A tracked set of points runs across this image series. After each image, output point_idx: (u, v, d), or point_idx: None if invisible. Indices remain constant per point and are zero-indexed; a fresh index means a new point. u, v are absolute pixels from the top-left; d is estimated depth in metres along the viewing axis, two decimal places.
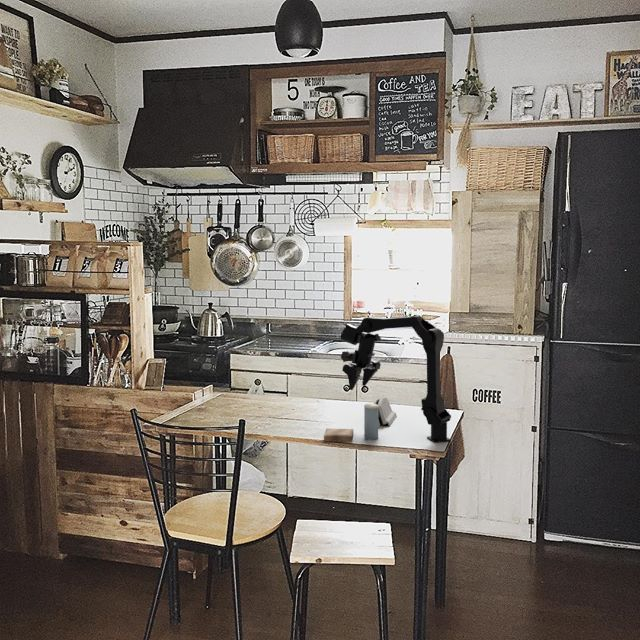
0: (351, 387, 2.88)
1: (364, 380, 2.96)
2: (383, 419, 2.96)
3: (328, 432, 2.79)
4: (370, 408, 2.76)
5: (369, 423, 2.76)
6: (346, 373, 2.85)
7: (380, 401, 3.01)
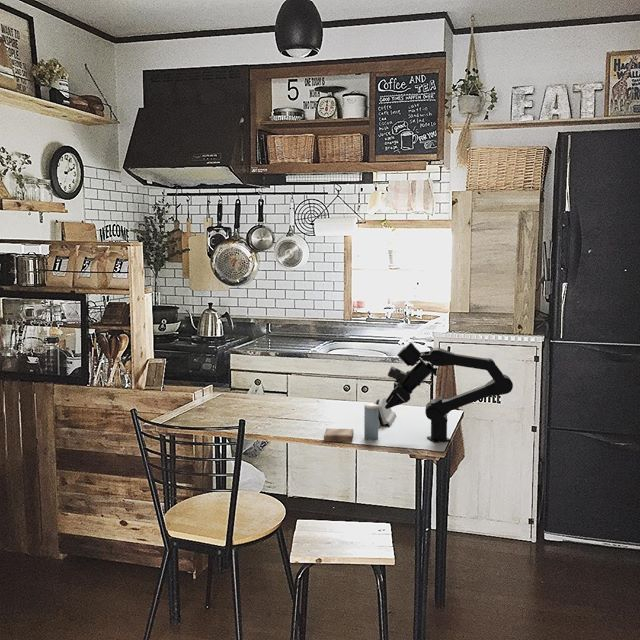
0: (388, 406, 2.72)
1: (390, 398, 2.81)
2: (383, 419, 2.96)
3: (328, 432, 2.79)
4: (370, 408, 2.76)
5: (369, 423, 2.76)
6: (395, 394, 2.68)
7: (380, 401, 3.00)
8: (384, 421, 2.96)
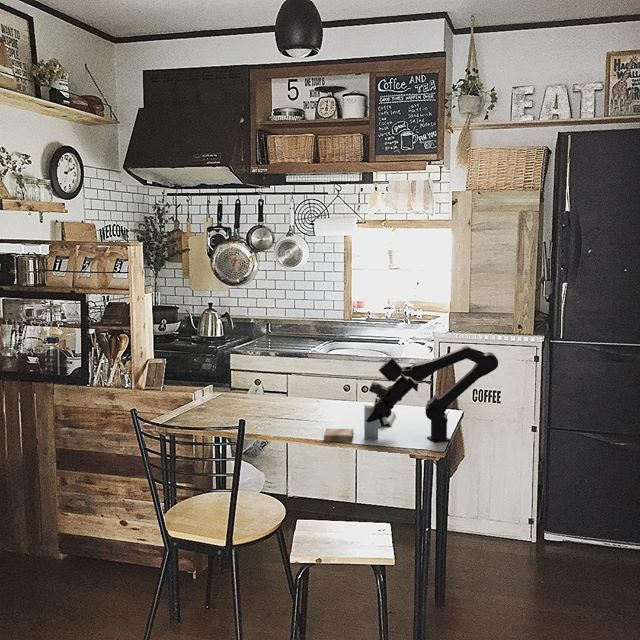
0: (369, 420, 2.75)
1: None
2: (384, 419, 2.96)
3: (328, 432, 2.79)
4: (370, 408, 2.76)
5: (369, 423, 2.76)
6: (377, 408, 2.72)
7: None
8: (385, 421, 2.96)
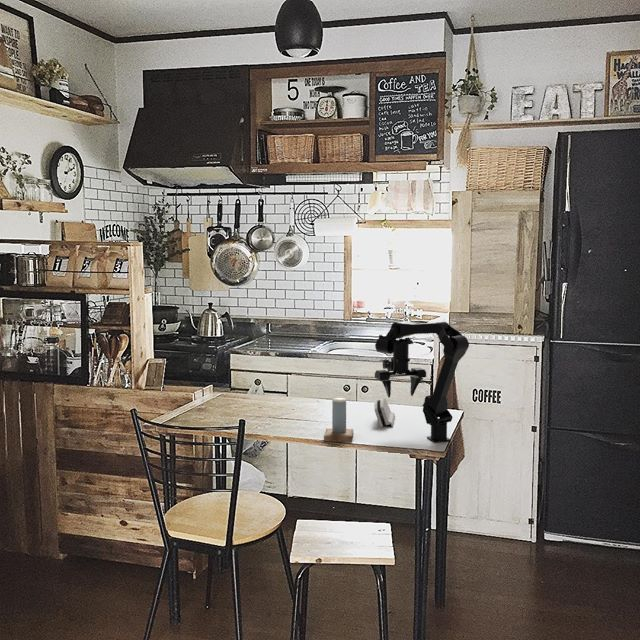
0: (388, 394, 2.86)
1: (411, 390, 2.89)
2: (386, 420, 2.95)
3: (328, 432, 2.79)
4: (339, 402, 2.76)
5: (338, 417, 2.76)
6: (379, 379, 2.86)
7: (381, 402, 2.99)
8: (386, 422, 2.95)
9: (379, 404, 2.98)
